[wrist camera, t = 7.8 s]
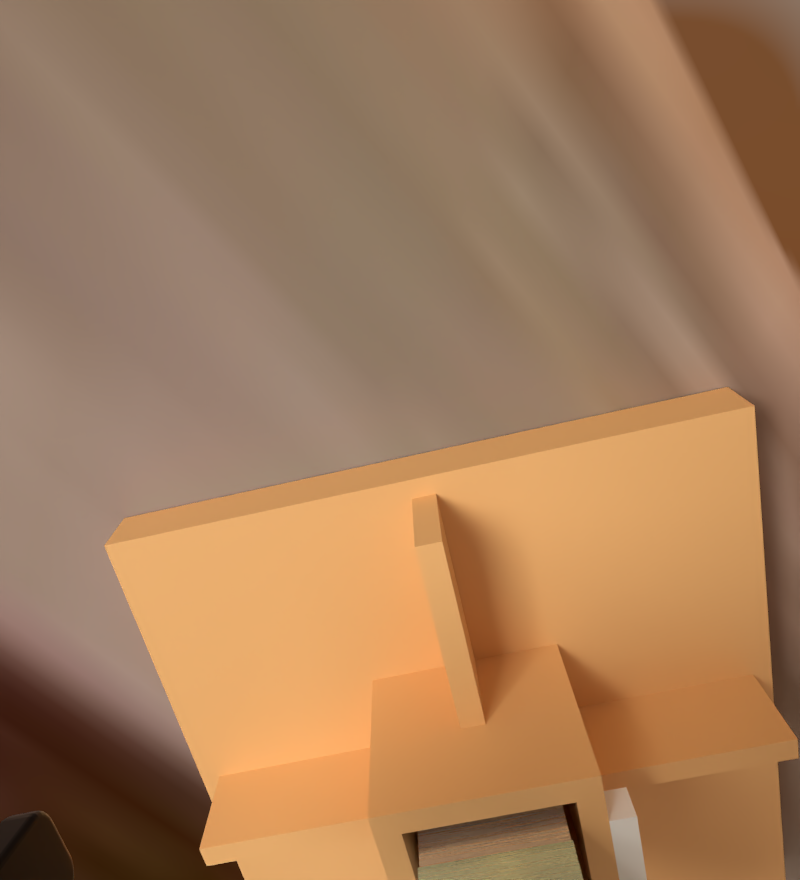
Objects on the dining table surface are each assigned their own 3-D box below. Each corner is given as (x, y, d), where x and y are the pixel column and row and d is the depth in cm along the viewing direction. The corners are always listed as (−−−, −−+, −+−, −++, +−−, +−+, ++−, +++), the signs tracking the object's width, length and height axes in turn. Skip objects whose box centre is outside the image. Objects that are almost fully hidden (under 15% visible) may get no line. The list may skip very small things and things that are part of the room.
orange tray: (763, 845, 25) (873, 1050, 19) (289, 928, 26) (261, 1144, 20) (728, 387, 19) (868, 485, 13) (123, 518, 20) (21, 659, 15)
